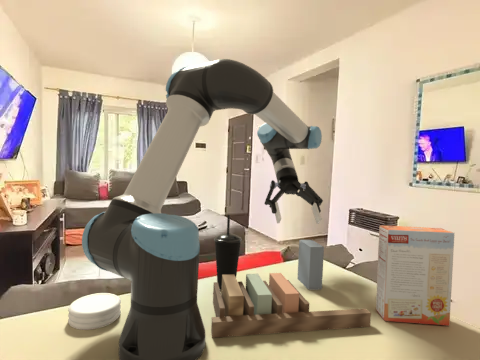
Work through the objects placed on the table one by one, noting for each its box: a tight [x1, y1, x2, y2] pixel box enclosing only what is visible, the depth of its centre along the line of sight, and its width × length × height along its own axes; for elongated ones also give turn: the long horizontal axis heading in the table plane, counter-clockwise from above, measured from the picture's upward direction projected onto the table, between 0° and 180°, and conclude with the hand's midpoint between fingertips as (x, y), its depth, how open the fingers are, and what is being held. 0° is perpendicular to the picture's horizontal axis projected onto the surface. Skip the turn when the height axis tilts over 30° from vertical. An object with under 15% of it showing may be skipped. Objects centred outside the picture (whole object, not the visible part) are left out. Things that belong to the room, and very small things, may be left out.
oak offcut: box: [220, 274, 244, 316], centre depth 65 cm, size 3×12×7 cm, turn 11°
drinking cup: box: [213, 214, 243, 291], centre depth 80 cm, size 8×8×20 cm
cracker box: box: [375, 224, 455, 327], centre depth 67 cm, size 14×6×21 cm, turn 84°
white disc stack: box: [67, 292, 122, 331], centre depth 62 cm, size 10×10×4 cm
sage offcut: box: [245, 273, 272, 315], centre depth 66 cm, size 3×12×7 cm, turn 11°
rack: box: [210, 279, 372, 339], centre depth 66 cm, size 34×14×5 cm, turn 101°
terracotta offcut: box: [268, 272, 299, 313], centre depth 67 cm, size 3×12×7 cm, turn 11°
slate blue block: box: [297, 239, 325, 291], centre depth 85 cm, size 4×8×12 cm, turn 11°
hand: (299, 221), depth 93 cm, fingers open, 13 cm apart
